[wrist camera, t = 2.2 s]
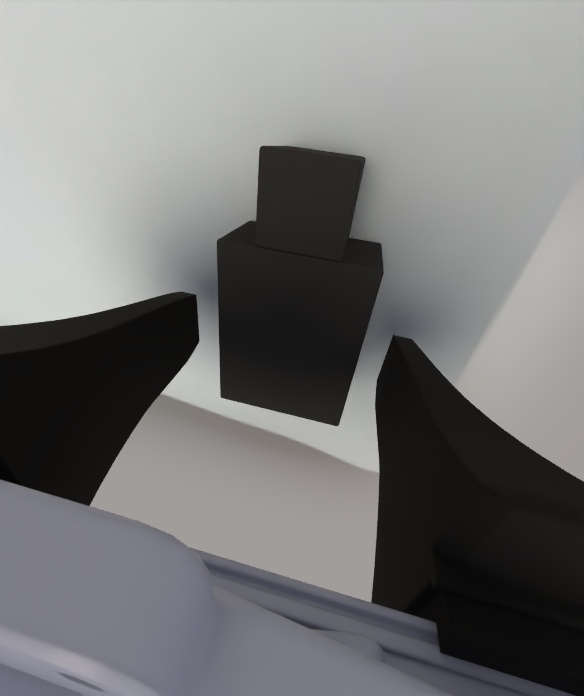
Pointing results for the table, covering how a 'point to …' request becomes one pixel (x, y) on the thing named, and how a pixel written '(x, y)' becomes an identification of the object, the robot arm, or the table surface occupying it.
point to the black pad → (297, 287)
